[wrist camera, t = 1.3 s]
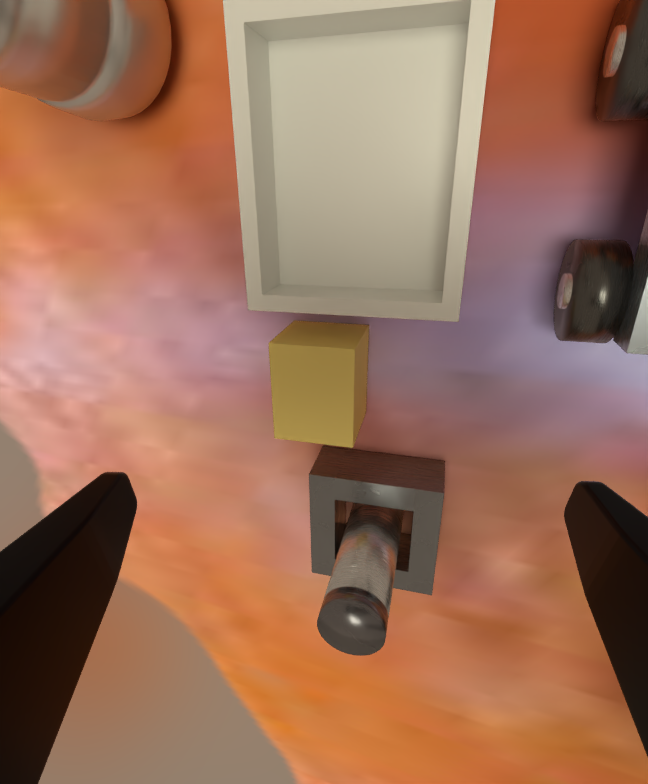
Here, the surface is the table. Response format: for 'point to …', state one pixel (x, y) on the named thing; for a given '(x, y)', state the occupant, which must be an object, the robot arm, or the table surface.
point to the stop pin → (362, 581)
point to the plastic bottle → (86, 54)
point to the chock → (319, 382)
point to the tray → (357, 151)
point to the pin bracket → (379, 488)
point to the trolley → (611, 257)
